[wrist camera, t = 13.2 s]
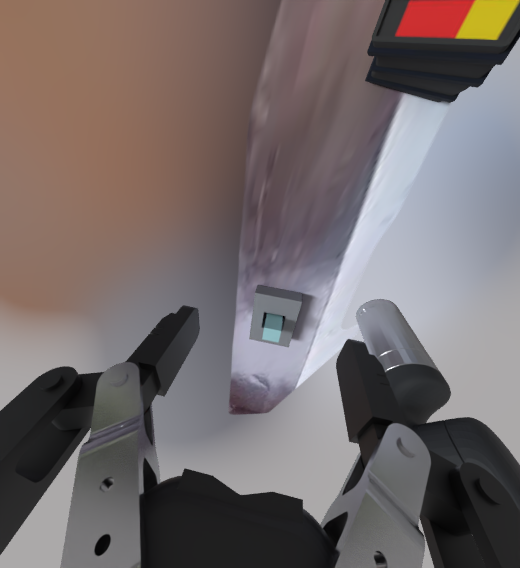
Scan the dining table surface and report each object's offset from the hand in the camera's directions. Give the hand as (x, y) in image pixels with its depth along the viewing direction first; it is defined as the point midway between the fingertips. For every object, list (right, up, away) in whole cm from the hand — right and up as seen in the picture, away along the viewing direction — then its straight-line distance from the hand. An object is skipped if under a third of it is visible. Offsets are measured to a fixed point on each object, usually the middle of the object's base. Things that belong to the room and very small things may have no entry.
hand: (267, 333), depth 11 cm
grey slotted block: (+3, -5, +42) cm, 43 cm away
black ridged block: (+19, +31, +17) cm, 40 cm away
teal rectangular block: (+4, -5, +42) cm, 43 cm away
